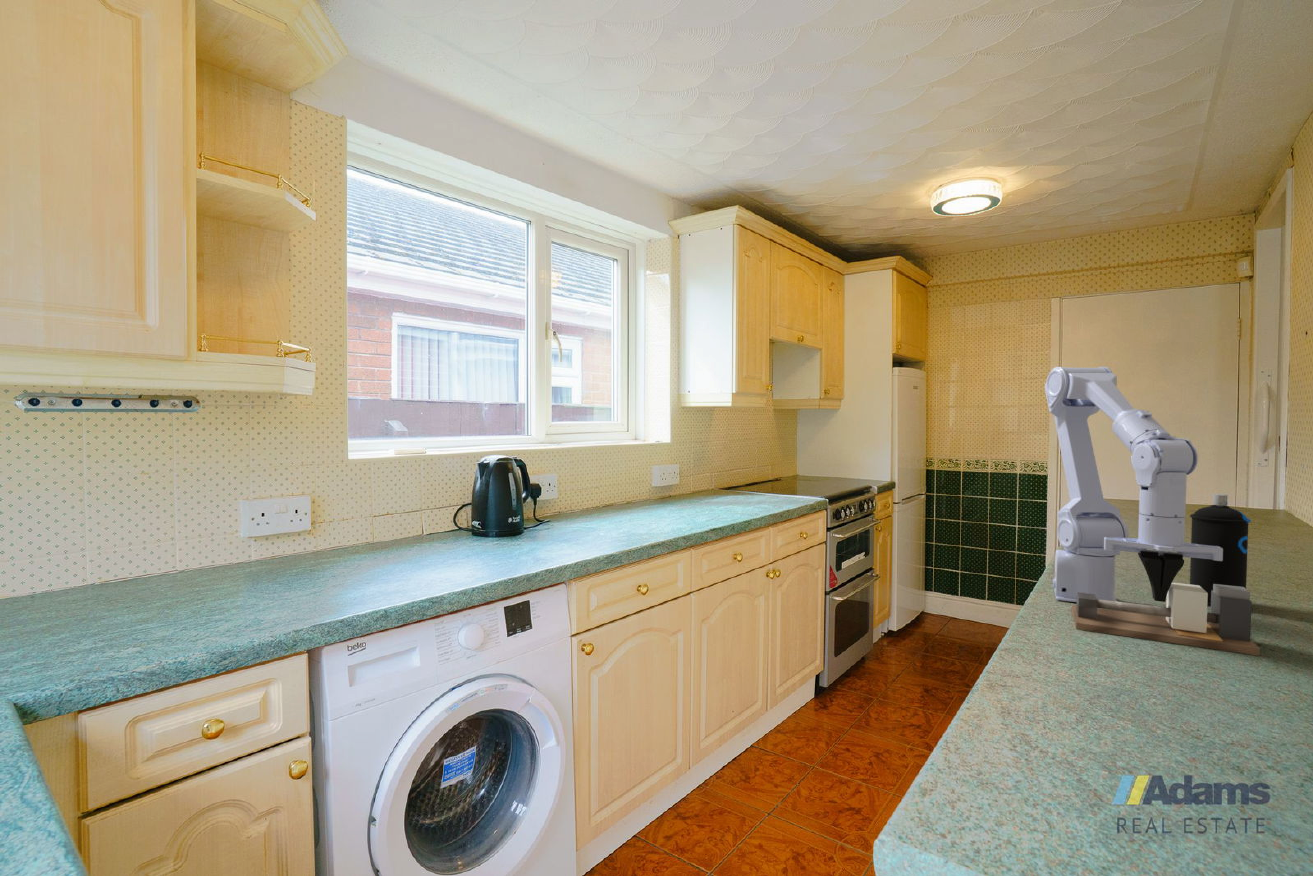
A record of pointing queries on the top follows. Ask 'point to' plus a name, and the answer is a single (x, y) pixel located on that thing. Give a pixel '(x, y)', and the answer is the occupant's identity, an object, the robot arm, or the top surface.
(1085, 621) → the rail board
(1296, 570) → the top surface
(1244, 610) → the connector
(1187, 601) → the sleeve
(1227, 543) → the aerosol can
